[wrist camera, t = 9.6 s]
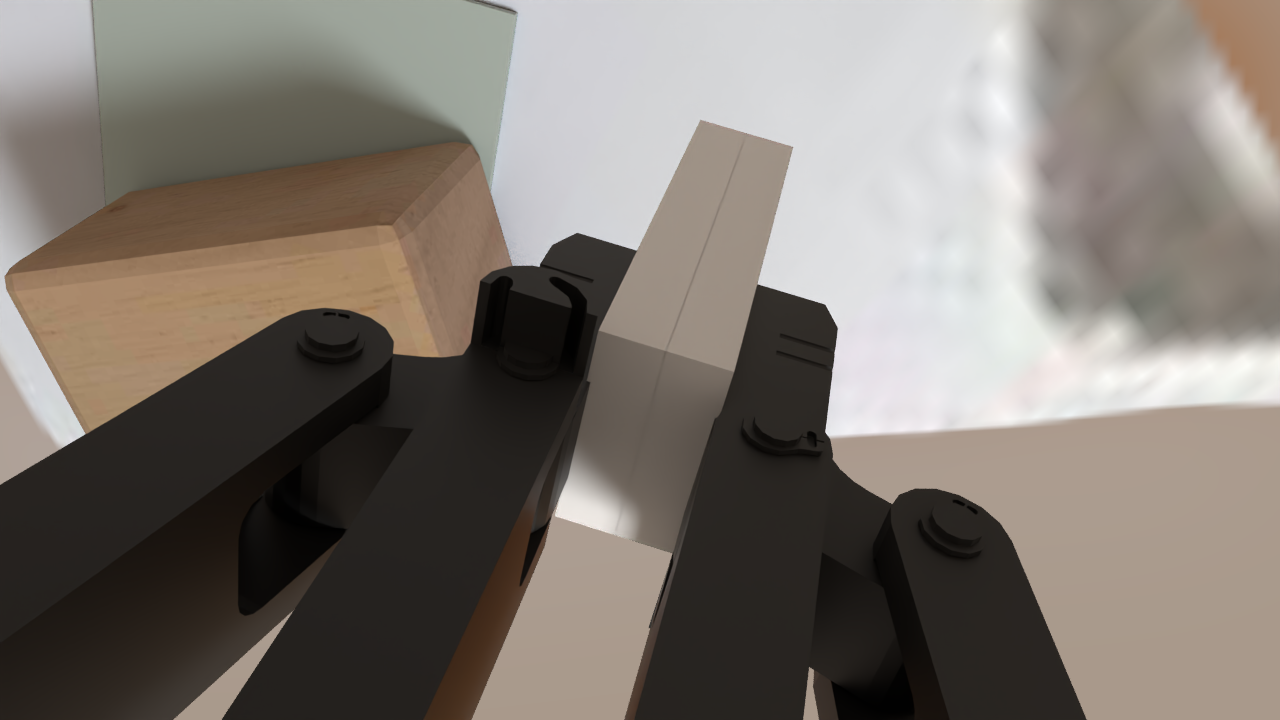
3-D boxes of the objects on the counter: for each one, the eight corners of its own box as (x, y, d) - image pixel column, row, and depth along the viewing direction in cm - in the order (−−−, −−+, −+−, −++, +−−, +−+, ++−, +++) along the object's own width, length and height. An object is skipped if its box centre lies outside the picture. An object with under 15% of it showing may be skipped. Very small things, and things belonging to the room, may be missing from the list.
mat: (91, -109, 48) (85, -108, 48) (517, 13, 47) (514, 14, 47) (110, 210, 57) (106, 213, 57) (471, 319, 56) (468, 323, 56)
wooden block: (480, 131, 50) (124, 187, 56) (394, 218, 42) (-15, 273, 47) (537, 321, 55) (203, 354, 60) (469, 434, 46) (89, 460, 52)
